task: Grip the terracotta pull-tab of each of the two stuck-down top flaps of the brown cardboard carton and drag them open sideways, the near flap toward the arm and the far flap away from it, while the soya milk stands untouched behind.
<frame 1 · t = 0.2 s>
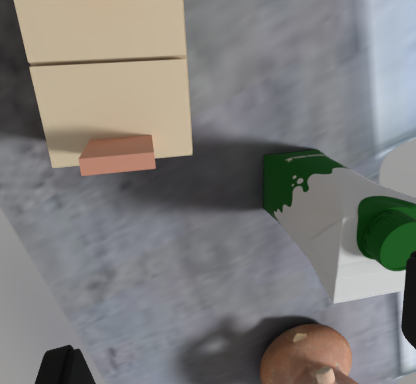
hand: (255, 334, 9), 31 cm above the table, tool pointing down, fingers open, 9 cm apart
carton: (117, 59, 34), on the table
ceramic jug: (297, 350, 55), on the table
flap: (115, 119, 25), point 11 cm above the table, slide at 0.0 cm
soya milk: (288, 179, 43), on the table
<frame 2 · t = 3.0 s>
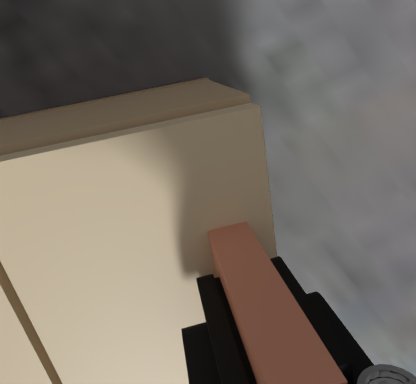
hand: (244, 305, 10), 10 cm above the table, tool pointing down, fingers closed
carton: (83, 217, 19), on the table
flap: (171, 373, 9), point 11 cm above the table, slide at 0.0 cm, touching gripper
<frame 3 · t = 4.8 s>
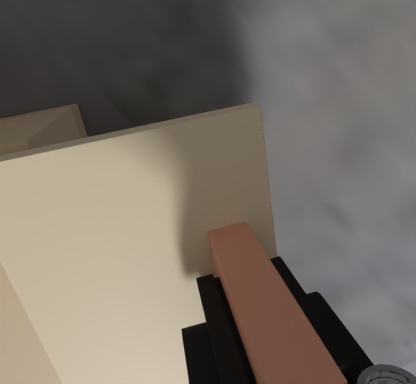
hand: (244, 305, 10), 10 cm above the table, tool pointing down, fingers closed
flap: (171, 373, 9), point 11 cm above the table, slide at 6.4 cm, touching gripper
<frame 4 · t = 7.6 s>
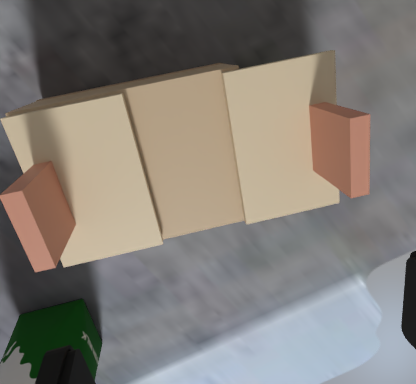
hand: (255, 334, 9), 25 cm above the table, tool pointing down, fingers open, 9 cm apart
carton: (148, 144, 33), on the table
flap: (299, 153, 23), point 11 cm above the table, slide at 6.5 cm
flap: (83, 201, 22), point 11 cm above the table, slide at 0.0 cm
soya milk: (62, 327, 39), on the table
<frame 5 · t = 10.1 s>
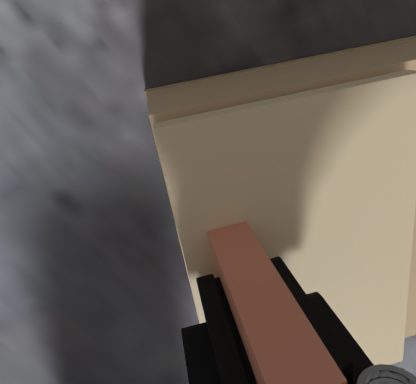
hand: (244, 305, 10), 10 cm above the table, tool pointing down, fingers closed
carton: (302, 165, 20), on the table
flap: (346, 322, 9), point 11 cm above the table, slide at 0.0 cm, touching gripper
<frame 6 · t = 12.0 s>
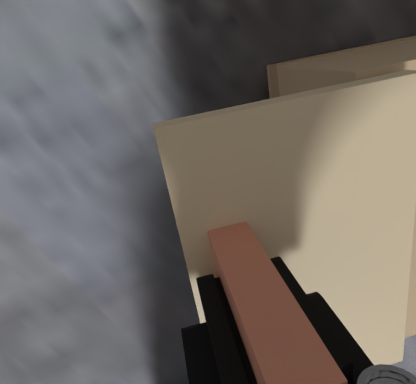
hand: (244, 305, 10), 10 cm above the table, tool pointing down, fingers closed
carton: (399, 143, 21), on the table
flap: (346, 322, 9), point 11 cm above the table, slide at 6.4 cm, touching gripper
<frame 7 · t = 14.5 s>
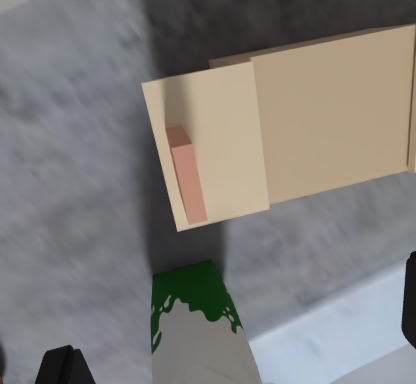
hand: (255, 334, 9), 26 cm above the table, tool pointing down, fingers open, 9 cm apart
carton: (294, 107, 35), on the table
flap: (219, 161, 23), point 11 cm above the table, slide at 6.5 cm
soya milk: (187, 289, 41), on the table
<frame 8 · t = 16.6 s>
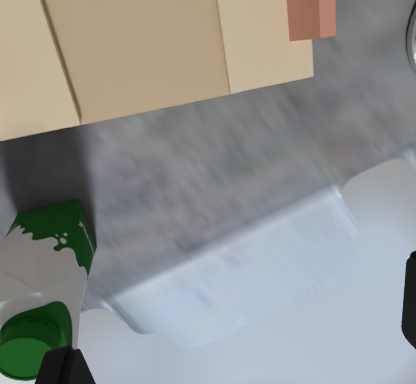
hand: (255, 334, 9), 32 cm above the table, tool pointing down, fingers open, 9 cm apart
carton: (140, 40, 35), on the table
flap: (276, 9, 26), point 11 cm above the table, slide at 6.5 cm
soya milk: (58, 230, 41), on the table
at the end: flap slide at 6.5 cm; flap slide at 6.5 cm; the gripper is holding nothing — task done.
